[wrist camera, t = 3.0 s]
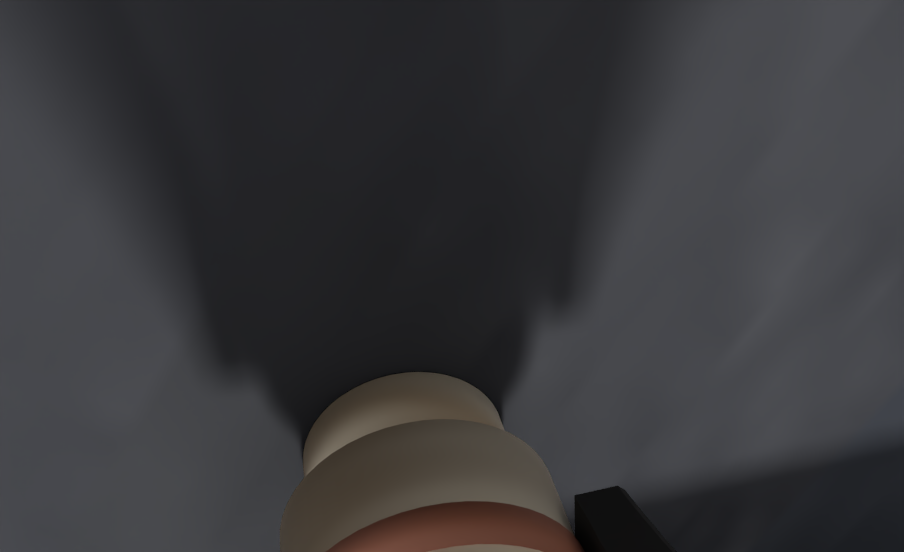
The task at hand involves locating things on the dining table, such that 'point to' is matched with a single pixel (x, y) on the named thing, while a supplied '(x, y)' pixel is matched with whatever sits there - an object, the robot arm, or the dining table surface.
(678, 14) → the dining table surface
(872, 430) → the dining table surface
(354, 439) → the peg
